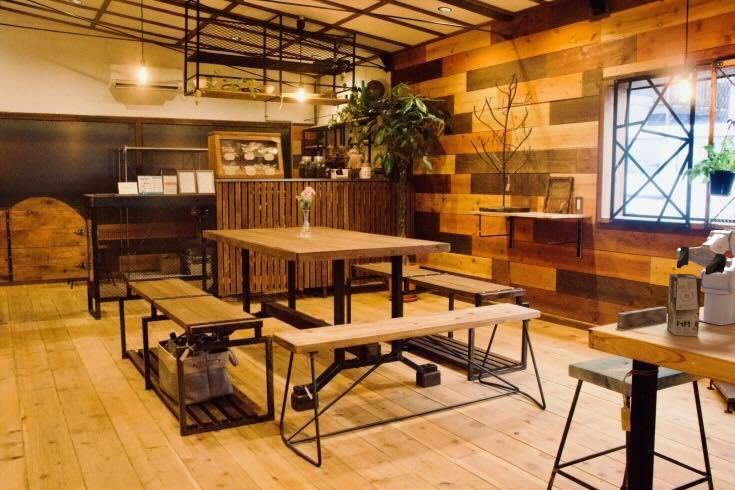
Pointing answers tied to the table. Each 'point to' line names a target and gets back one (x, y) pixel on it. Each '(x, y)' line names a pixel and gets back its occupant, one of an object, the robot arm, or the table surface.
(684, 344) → the table surface
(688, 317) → the coffee box
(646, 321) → the walnut board
